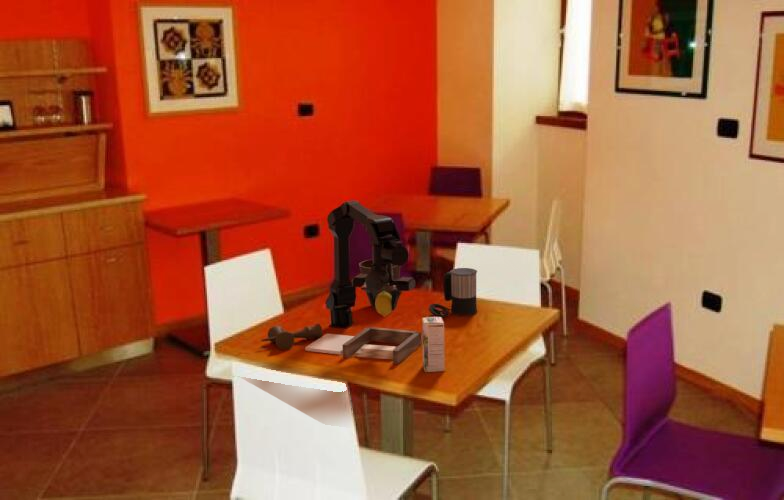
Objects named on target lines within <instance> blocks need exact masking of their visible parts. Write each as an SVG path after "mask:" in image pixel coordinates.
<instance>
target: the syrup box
mask: <svg viewBox="0 0 784 500" xmlns="http://www.w3.org/2000/svg"><path fill="white" fill-rule="evenodd" d="M421 322H422V323H421V324H422V331H421V338H422V366H423V370H424V372H425V373H437V372H445V371H446V369H445V368H446V367H445V366H446V365H445V363H446V359H445V322H444V320H443V317H436V316H426V317H422V320H421Z"/></svg>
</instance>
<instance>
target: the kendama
mask: <svg viewBox="0 0 784 500" xmlns="http://www.w3.org/2000/svg"><path fill="white" fill-rule="evenodd" d="M322 336H323V329H322V325H321V324H320V323H316V324H314V325H313V326H304V327H303V328H302V329H300V330H297V331H294V332H291V331H287V330H286V331H284V328H283V327H282V326H280V325H273V326H271V327H270V328H269V329H268V332H267V338H263V339H260V342H269V341H270V342H271V343H273V344H276V347H277V348H278V350H280V351H285V350H286V351H287V350H290V349H291V348H292V347H293V346H294V344H295V339H306V340H307V341H309V340H310V339H317V340H318V339H319V338H321V337H322Z"/></svg>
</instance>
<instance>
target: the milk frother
mask: <svg viewBox="0 0 784 500" xmlns="http://www.w3.org/2000/svg"><path fill="white" fill-rule="evenodd" d="M477 273H478V270H477V269H474V268H471V267H469V268H468V267H459V268H458V267H457V268H453V269H451V270H450V271H448V272H446V273H444V275H443V276H442V277H443V278H442V282H443V295H444V301H446V302H450V301H451V304H450V305H451V307H450V308H448V307H446V306H444V305H442V304H438V303H432V304H430V305H429V308H428V309H429V312H430V313H431V314H432V315H433V316H434V317H441V318H447V317H448V316H449V313H451V314H453V315H456V316H471V315H472V316H473V315H475V314H477V313H478V309H477V307H478V306H477ZM443 311H444V313H443Z"/></svg>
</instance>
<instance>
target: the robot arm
mask: <svg viewBox="0 0 784 500" xmlns="http://www.w3.org/2000/svg"><path fill="white" fill-rule="evenodd" d="M326 222H327V224H328V225H327V226H328V230H329V231H330V233H331V235H332V236H333V250H334V251H333V253H334V254H333V256H334V279H333V282H332V283H331V284H330V287H329V294H328V296H327V298H326V300H325V302H324V303H325V308H326V309H327V310H329V311H330V323H329V324H328V327H331V328H338V329H339V328H340V329H347V328H349V326H351V325H354V323H355V321H354V320H353V319H354V318H353V311H352V307H355V306H356V298H357V292H356V289H357V288H360V289H361V290H362V291H364V292H365V293H366V292H367V293H368V295H369V297H370V299H371V302H372V304H373V307H374V308H373V309H374V310H376V307H375V300H376V297H377V290H380V289H381V288H382V286H383V285H388V286H393V289H392V290H391V291H390V292H391V294H392V311H393V312H394V311H395V310H396V307H397V305H398V302H399V299H400V297H401V294H402V293H403V292H409V291H411V290H412V289H414V288H415V287H416V280H415V278H414V277H411V276H409V277H408V276H402V277H401V278H400V277H399V280H393V278H394V274H393V272H392V265H397V266H400V267H402V266H404V265H405V264H406V263H407V261H408V260H409V252H408V250H407V248H406V247H405V246H403V242H402V241H401V237H400V236H401V234H400V233H399V230H398V228H397V227H396V224H395V222H394V220H393V219H392V218H391V217H390V216H388V215H387V216H386V215H380V214H376V213H374V212H373V211H372V210H369V209H368V208H367V207H365V206H364V205H362V204H360V202H359V201H358V200H348V201H344V202H342V204H341V205H339V206H338V207H335V208H334V209H333V210H331V211H330V212H329V213H328V215H327V217H326ZM355 222H357V223H359V224H360V225H362V226H363V227H365V231H366V233H367V235H368V236H369V237H370V239H369V241H368V242H369V244H371V246H372V247H371V248H372V249H371V250H372V259H373V264H371V271H370V272H369V273H368V274H361V273H358V274H356V275H355V276H353V278H352V280H351V279H350V276H351V275H350V274H351V273H350V272H351V271H350V236H351V235H352V232H353V231H354V230H355ZM392 311H391V312H392Z"/></svg>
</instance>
